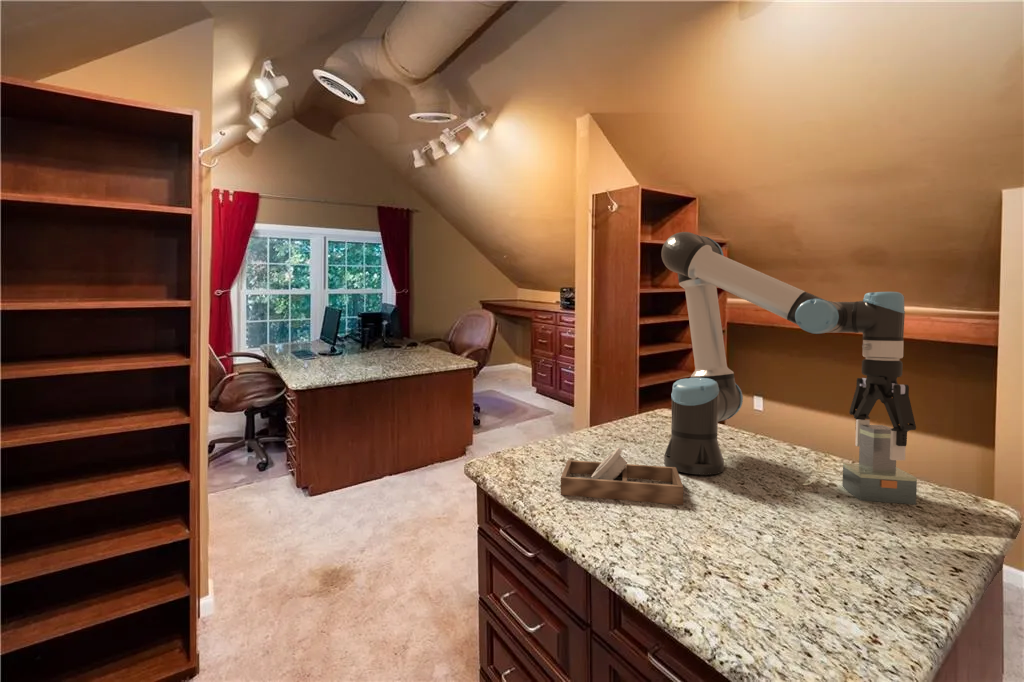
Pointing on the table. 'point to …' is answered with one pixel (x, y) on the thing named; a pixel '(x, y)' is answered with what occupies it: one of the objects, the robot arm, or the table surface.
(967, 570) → the table surface
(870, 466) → the column
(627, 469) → the parts corral
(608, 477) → the beige piece
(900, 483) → the grey-green storage box
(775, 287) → the robot arm
